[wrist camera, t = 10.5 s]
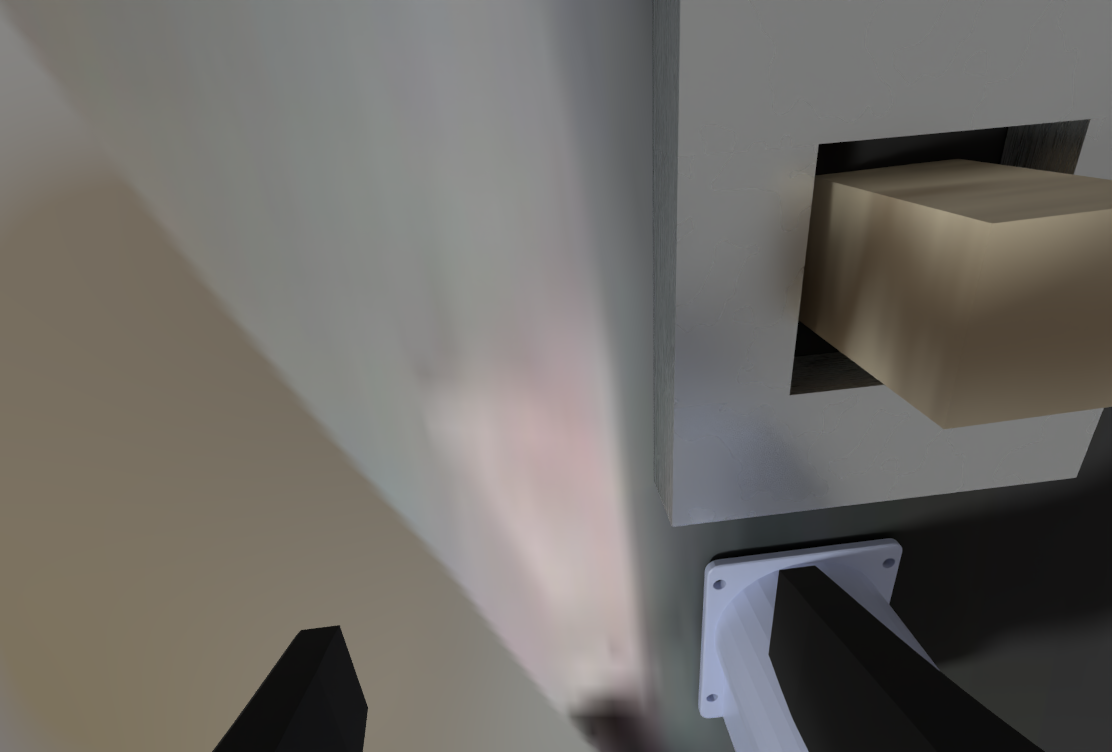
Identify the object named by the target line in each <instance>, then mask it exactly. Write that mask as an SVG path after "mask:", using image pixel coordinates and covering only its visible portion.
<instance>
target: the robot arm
mask: <svg viewBox="0 0 1112 752" xmlns="http://www.w3.org/2000/svg"><path fill="white" fill-rule="evenodd" d="M901 555H902V547H901V545H900V544H899V543H898V542H897V541H896V540H895V539H892V538H886V539H878V540H870V541H862V542H854V543H846V544H838V545H830V546H822V547H814V548H806V549H798V550H790V551H782V552H774V553H766V554H758V555H750V556H742V557H734V558H726V559H718V560H714V561H712V562H710V563H709V564H708V565H707V566H706V569H705V580H704V600H703V620H702V640H701V661H700V681H699V701H698V707H699V711H700V714H701V715H702V716H703V717H705V718H715V717H723V718H724V721H725V723H726V726H727V729H728V732H729V735H730V737H731V740H732V743H733V746H734V748H735V751H736V752H1044V751H1043V750H1042V749H1040V748H1039V747H1038V746H1036V745H1035V744H1033V743H1032V742H1031V741H1029V740H1028V739H1027V738H1025V737H1024V736H1023V735H1021V734H1020V733H1019V732H1017V731H1016V730H1015V729H1013V728H1012V727H1011V726H1009V725H1008V724H1007V723H1005V722H1004V721H1003V720H1002V719H1000V718H999V717H998V716H996V715H995V714H994V713H992V712H991V711H990V710H988V709H987V708H986V707H984V706H983V705H982V704H981V703H979V702H978V701H977V700H975V699H974V698H973V697H972V696H970V695H969V694H968V693H967V692H965V691H964V690H963V689H961V688H960V687H959V686H958V685H956V684H955V683H954V682H953V681H952V680H950V679H949V678H948V677H947V676H945V675H944V674H943V673H942V672H940V670H939V669H938V668H937V666H936V665H935V664H934V662H933V661H932V660H931V658H930V657H929V656H928V655H927V653H926V652H925V651H924V649H923V648H922V647H921V645H920V644H919V643H918V641H917V640H916V639H915V638H914V636H913V635H912V634H911V632H910V631H909V630H908V628H907V627H906V626H905V624H904V623H903V622H902V621H901V619H900V618H899V617H898V615H897V614H896V613H895V611H894V610H893V609H892V608H891V606H890V605H889V603H890V599H891V595H892V591H893V587H894V583H895V579H896V575H897V571H898V567H899V563H900V559H901ZM718 580H720V581H718ZM716 581H718V582H716ZM367 711H368V707H367V704H366V701H365V698H364V695H363V692H362V689H361V686H360V683H359V681H358V678H357V675H356V672H355V669H354V666H353V663H352V660H351V657H350V654H349V651H348V649H347V646H346V643H345V640H344V637H343V634H342V631H341V629H340V626H331V627H323V628H315V629H307V630H301V631H300V632H299V633H298V634H297V635H296V637H295V638H294V639H293V641H292V642H291V644H290V645H289V646H288V648H287V649H286V651H285V652H284V653H283V655H282V656H281V658H280V659H279V661H278V662H277V663H276V665H275V666H274V668H273V669H272V670H271V672H270V673H269V675H268V676H267V677H266V679H265V680H264V682H263V683H262V684H261V686H260V687H259V689H258V690H257V691H256V693H255V694H254V696H253V697H252V698H251V700H250V701H249V703H248V704H247V705H246V707H245V708H244V709H243V711H242V712H241V714H240V715H239V716H238V718H237V719H236V720H235V722H234V723H233V725H232V726H231V727H230V729H229V730H228V731H227V733H226V734H225V735H224V737H223V738H222V739H221V741H220V742H219V743H218V745H217V746H216V747H215V749H214V750H213V751H212V752H363V744H364V737H365V728H366V720H367Z"/></svg>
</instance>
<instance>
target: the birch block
mask: <svg viewBox="0 0 1112 752" xmlns="http://www.w3.org/2000/svg"><path fill="white" fill-rule="evenodd" d="M798 320H799V321H800V322H802V323H803V324H804V325H806V326H807V327H808V328H810V329H811V330H812V331H814V332H815V333H816V334H818V335H819V336H820V337H822V338H823V339H824V340H826V341H827V342H828V343H830V344H831V345H832V346H834V347H835V348H836V349H838V350H839V351H840V352H842V353H843V354H844V355H846V356H847V357H848V358H850V359H851V360H852V361H854V362H855V363H856V364H858V365H859V366H860V367H862V368H863V369H864V370H866V371H867V372H868V373H870V374H871V375H872V376H873V377H875V378H876V379H877V380H879V381H880V382H881V383H883V384H884V385H885V386H887V387H888V388H889V389H891V390H892V391H893V392H895V393H896V394H897V395H899V396H900V397H901V398H903V399H904V400H905V401H907V402H908V403H909V404H911V405H912V406H913V407H915V408H916V409H917V410H919V411H920V412H921V413H923V414H924V415H925V416H927V417H928V418H929V419H931V420H932V421H933V422H935V423H936V424H937V425H939V426H940V427H941V428H943V429H951V428H958V427H965V426H973V425H980V424H988V423H995V422H1002V421H1010V420H1017V419H1024V418H1032V417H1039V416H1046V415H1054V414H1061V413H1068V412H1076V411H1083V410H1091V409H1098V408H1105V407H1112V180H1108V179H1101V178H1094V177H1087V176H1080V175H1072V174H1065V173H1058V172H1051V171H1044V170H1036V169H1029V168H1022V167H1015V166H1007V165H1000V164H993V163H986V162H979V161H971V160H964V159H951V160H943V161H934V162H926V163H917V164H909V165H900V166H892V167H883V168H875V169H867V170H858V171H850V172H841V173H833V174H824V175H816V176H815V180H814V188H813V197H812V206H811V214H810V223H809V231H808V240H807V249H806V257H805V266H804V275H803V283H802V292H801V301H800V309H799V318H798Z"/></svg>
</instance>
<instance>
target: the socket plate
mask: <svg viewBox="0 0 1112 752" xmlns="http://www.w3.org/2000/svg"><path fill="white" fill-rule="evenodd" d="M998 127H1008V131H1007V135H1006V139H1005V143H1004V147H1003V151H1002V155H1001V159H1000V163H999V164H1000V165H1007V166H1015V167H1022V168H1029V169H1036V170H1044V171H1051V172H1058V173H1065V174H1072V175H1080V176H1087V177H1094V178H1101V179H1108V180H1112V0H653V239H654V482H655V485H656V487H657V490H658V492H659V495H660V497H661V500H662V502H663V505H664V507H665V510H666V512H667V515H668V517H669V520H670V522H671V525H672V527H675V526H683V525H691V524H699V523H708V522H716V521H724V520H732V519H740V518H749V517H757V516H765V515H773V514H781V513H790V512H798V511H806V510H814V509H822V508H831V507H839V506H847V505H855V504H863V503H872V502H880V501H888V500H896V499H904V498H913V497H921V496H929V495H937V494H945V493H954V492H962V491H970V490H978V489H986V488H995V487H1003V486H1011V485H1019V484H1027V483H1036V482H1044V481H1052V480H1060V479H1068V478H1076V477H1077V474H1078V472H1079V469H1080V467H1081V464H1082V461H1083V459H1084V456H1085V454H1086V451H1087V449H1088V446H1089V444H1090V441H1091V439H1092V436H1093V434H1094V431H1095V428H1096V426H1097V423H1098V421H1099V418H1100V416H1101V413H1102V411H1103V408H1098V409H1091V410H1083V411H1076V412H1068V413H1061V414H1054V415H1046V416H1039V417H1032V418H1024V419H1017V420H1010V421H1002V422H995V423H988V424H980V425H973V426H965V427H958V428H951V429H943V428H941V427H940V426H939V425H937V424H936V423H935V422H933V421H932V420H931V419H929V418H928V417H927V416H925V415H924V414H923V413H921V412H920V411H919V410H917V409H916V408H915V407H913V406H912V405H911V404H909V403H908V402H907V401H905V400H904V399H903V398H901V397H900V396H899V395H897V394H896V393H895V392H893V391H892V390H891V389H889V388H888V387H887V386H885V385H884V384H883V383H881V382H880V381H879V380H877V379H876V378H875V377H873V376H872V375H871V374H870V373H868V372H867V371H866V370H864V369H863V368H862V367H860V366H859V365H858V364H856V363H855V362H854V361H852V360H851V359H850V358H848V357H847V356H846V355H844V354H843V353H842V352H833V353H823V354H814V355H805V356H796V357H794V352H795V344H796V335H797V326H798V318H799V309H800V301H801V292H802V283H803V275H804V266H805V257H806V249H807V240H808V231H809V223H810V214H811V206H812V197H813V188H814V180H815V171H816V162H817V154H818V145H819V144H826V143H836V142H847V141H858V140H869V139H880V138H890V137H901V136H912V135H923V134H934V133H944V132H955V131H966V130H977V129H988V128H998Z"/></svg>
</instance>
